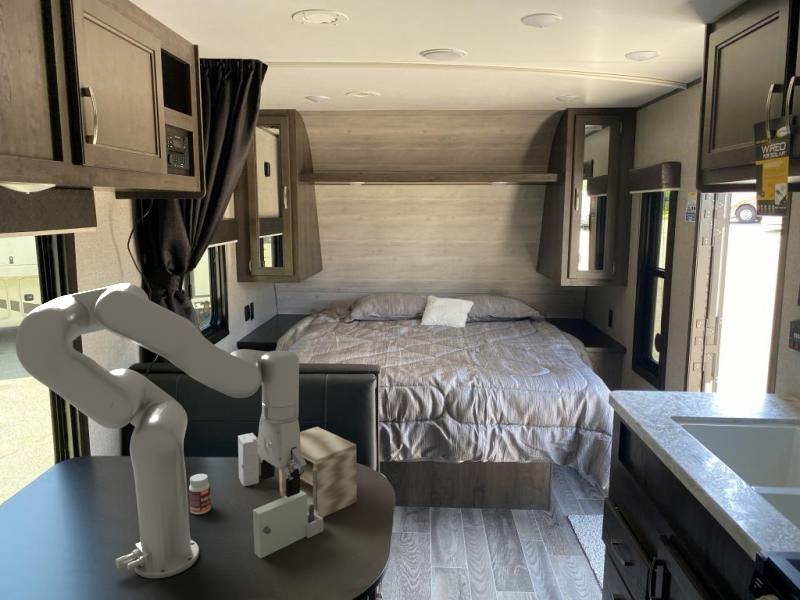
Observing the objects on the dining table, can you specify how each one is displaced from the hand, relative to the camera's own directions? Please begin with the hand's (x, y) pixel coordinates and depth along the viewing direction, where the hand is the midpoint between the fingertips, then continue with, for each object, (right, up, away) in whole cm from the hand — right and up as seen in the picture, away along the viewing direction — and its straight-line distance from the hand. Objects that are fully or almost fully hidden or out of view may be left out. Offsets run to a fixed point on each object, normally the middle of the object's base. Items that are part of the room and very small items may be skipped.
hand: (279, 486), depth 122 cm
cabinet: (+5, -10, +19) cm, 22 cm away
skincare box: (-15, -9, +30) cm, 35 cm away
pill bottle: (-23, -11, +16) cm, 30 cm away
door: (+1, -13, +3) cm, 13 cm away
